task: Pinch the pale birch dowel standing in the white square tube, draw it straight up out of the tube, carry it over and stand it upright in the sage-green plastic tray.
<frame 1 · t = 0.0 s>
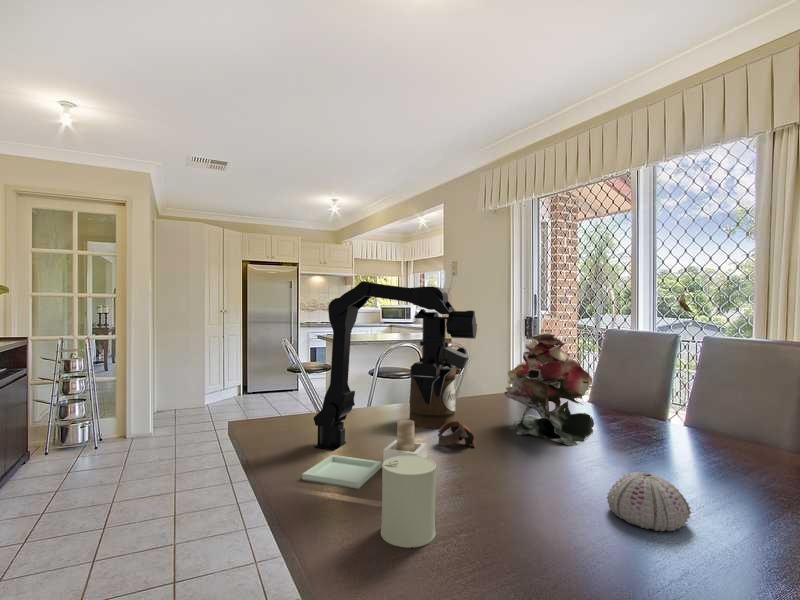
hand: (433, 400, 111), 15 cm above the table, fingers open, 9 cm apart
dowel: (405, 464, 105), point 1 cm above the table, touching white square tube
can: (407, 534, 75), on the table
sea urchin shell: (646, 519, 82), on the table
brown rounded hollow piece: (457, 448, 121), on the table
wooden container: (432, 422, 146), on the table
white square tube: (405, 468, 105), on the table
rose bouquet: (545, 429, 140), on the table
tray: (343, 476, 99), on the table
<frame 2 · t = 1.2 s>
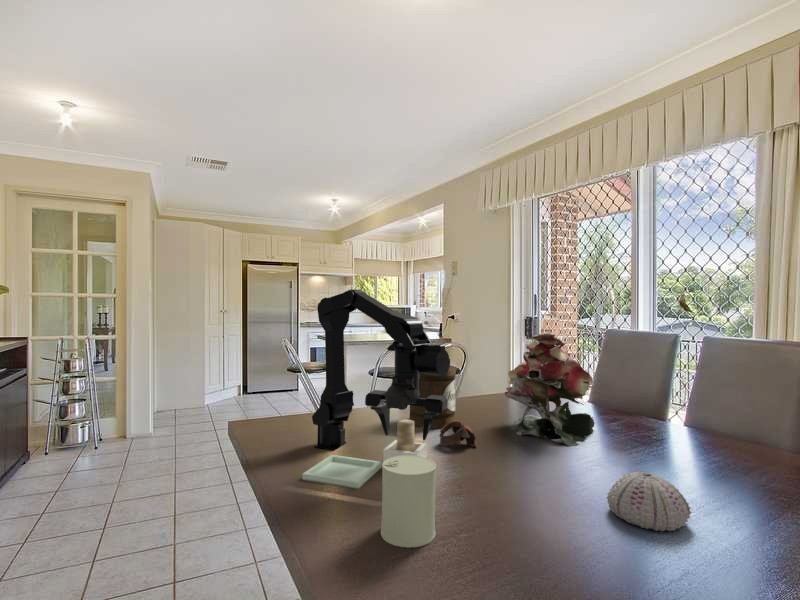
hand: (405, 437, 105), 7 cm above the table, fingers open, 9 cm apart
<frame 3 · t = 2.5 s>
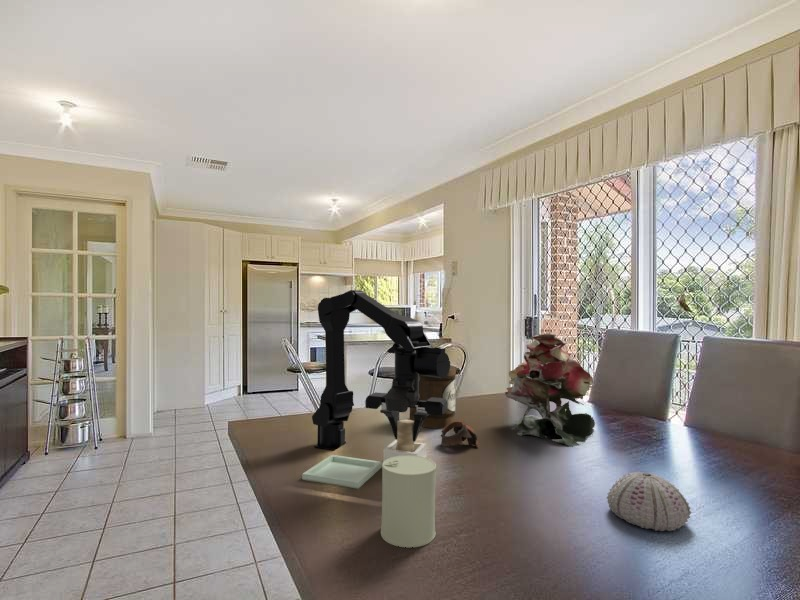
hand: (405, 440, 105), 7 cm above the table, fingers closed on dowel, 4 cm apart
dowel: (405, 464, 105), point 1 cm above the table, touching white square tube, gripper
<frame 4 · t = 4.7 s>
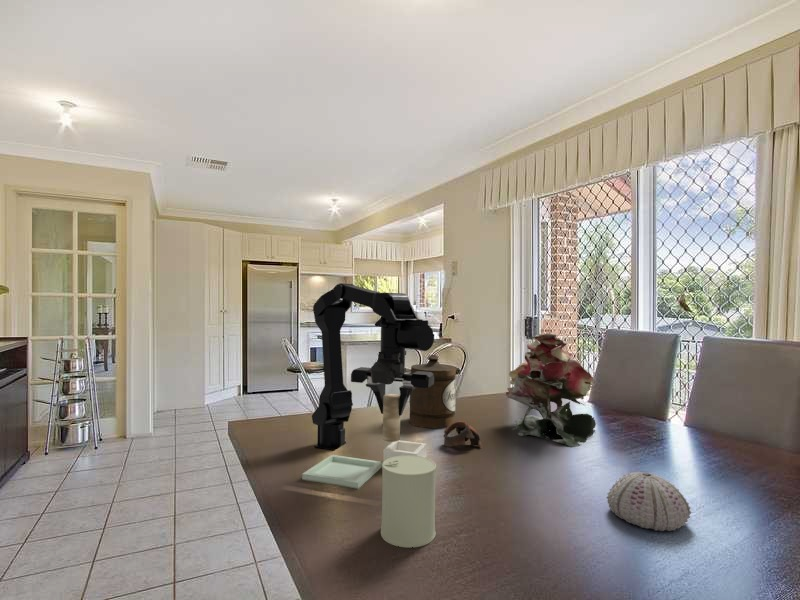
hand: (391, 414, 104), 13 cm above the table, fingers closed on dowel, 4 cm apart
dowel: (391, 439, 104), point 7 cm above the table, touching gripper
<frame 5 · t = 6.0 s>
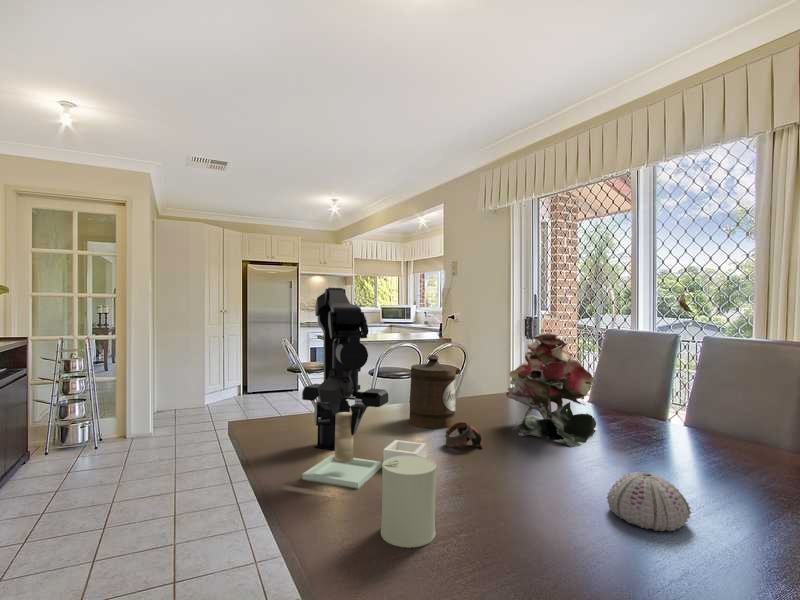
hand: (344, 433, 99), 9 cm above the table, fingers closed on dowel, 4 cm apart
dowel: (343, 459, 99), point 4 cm above the table, touching gripper
when the fingers open (8 cm above the table, at t = 7.0 s): dowel drops 1 cm, resting on tray.
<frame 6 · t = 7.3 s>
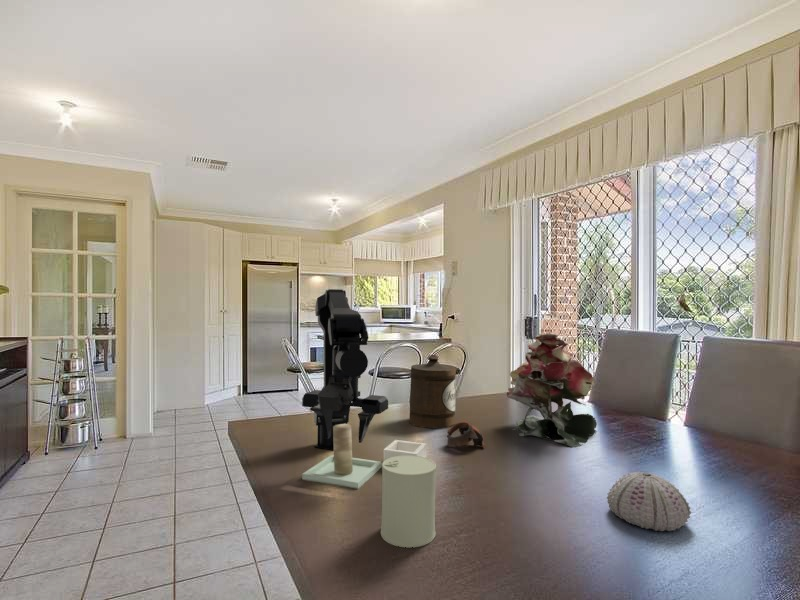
hand: (344, 440, 99), 8 cm above the table, fingers open, 8 cm apart
dowel: (343, 471, 99), point 1 cm above the table, touching tray
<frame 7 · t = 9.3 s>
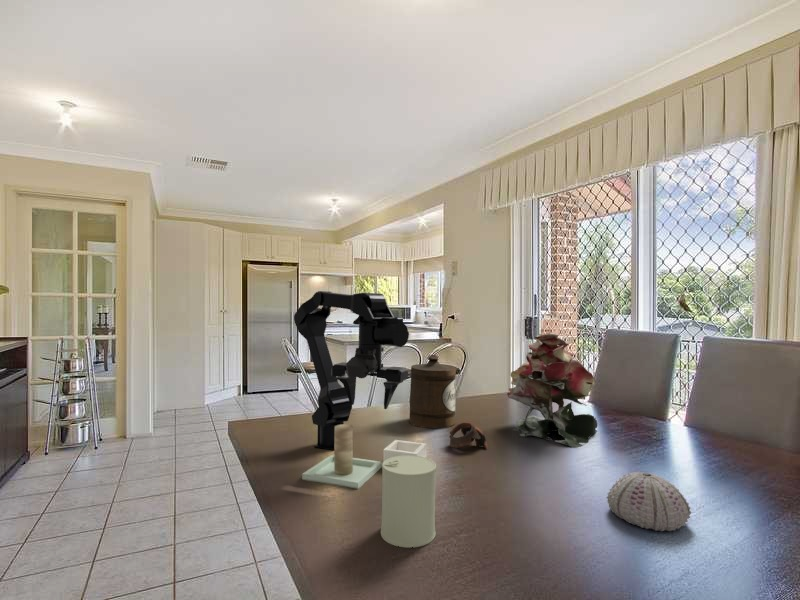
hand: (368, 406, 111), 13 cm above the table, fingers open, 9 cm apart
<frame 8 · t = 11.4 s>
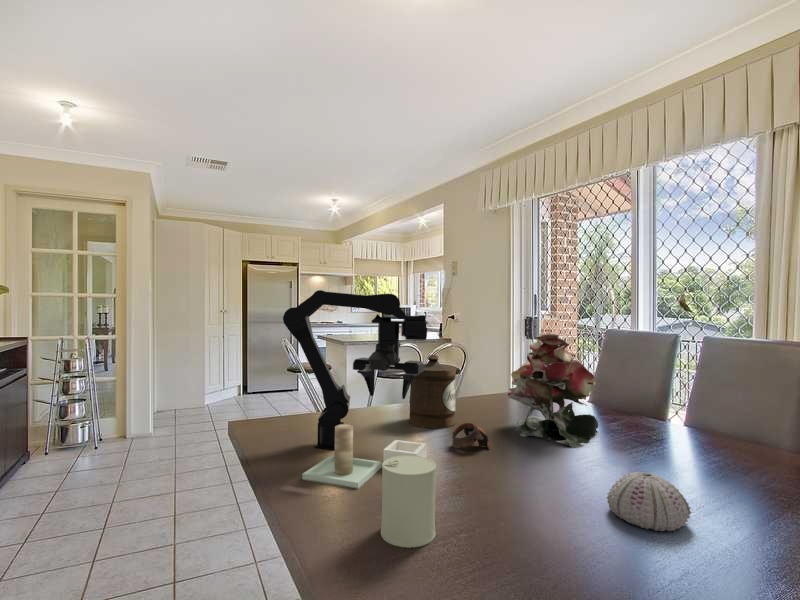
hand: (387, 397, 122), 13 cm above the table, fingers open, 9 cm apart
at the end: dowel inside the target area on the tray (0.1 cm from its centre), point 1.0 cm above the tray's base; dowel tilted 1°; the gripper is holding nothing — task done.
